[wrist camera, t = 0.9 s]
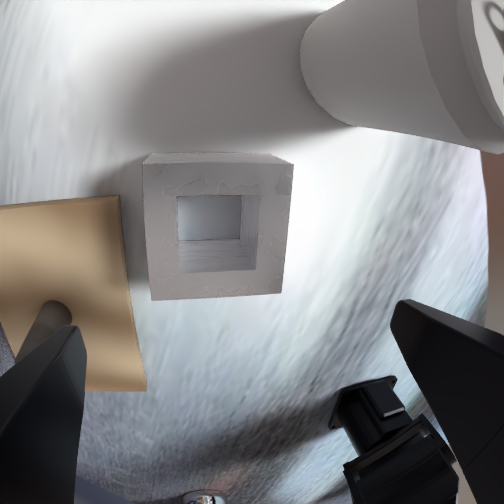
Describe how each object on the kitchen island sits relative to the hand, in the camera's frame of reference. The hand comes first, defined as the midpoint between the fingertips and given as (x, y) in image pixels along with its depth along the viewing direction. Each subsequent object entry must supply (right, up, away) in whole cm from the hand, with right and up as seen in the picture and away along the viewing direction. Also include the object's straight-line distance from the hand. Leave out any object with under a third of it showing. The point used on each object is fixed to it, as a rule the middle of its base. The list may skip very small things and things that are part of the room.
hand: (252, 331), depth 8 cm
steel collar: (-2, +4, +10) cm, 11 cm away
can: (+6, +13, +8) cm, 16 cm away
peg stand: (-12, -1, +10) cm, 16 cm away
